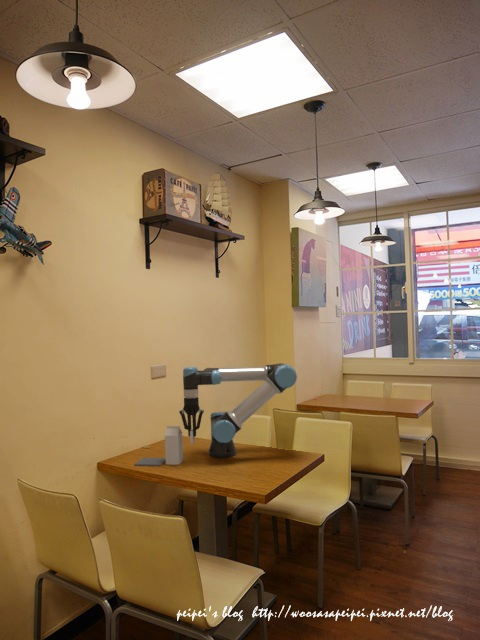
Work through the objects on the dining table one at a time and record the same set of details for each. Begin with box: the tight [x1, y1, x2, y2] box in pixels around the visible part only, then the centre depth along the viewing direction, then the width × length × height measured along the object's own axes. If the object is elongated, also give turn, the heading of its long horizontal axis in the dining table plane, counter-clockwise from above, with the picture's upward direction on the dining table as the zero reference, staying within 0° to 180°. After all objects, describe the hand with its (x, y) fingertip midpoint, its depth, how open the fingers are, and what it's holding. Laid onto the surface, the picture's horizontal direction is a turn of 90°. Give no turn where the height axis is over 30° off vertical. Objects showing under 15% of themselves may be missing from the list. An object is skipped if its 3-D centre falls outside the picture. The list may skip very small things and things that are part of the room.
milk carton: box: [164, 425, 184, 466], centre depth 239 cm, size 7×7×19 cm
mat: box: [134, 457, 166, 467], centre depth 241 cm, size 14×12×1 cm
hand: (192, 442), depth 238 cm, fingers closed
